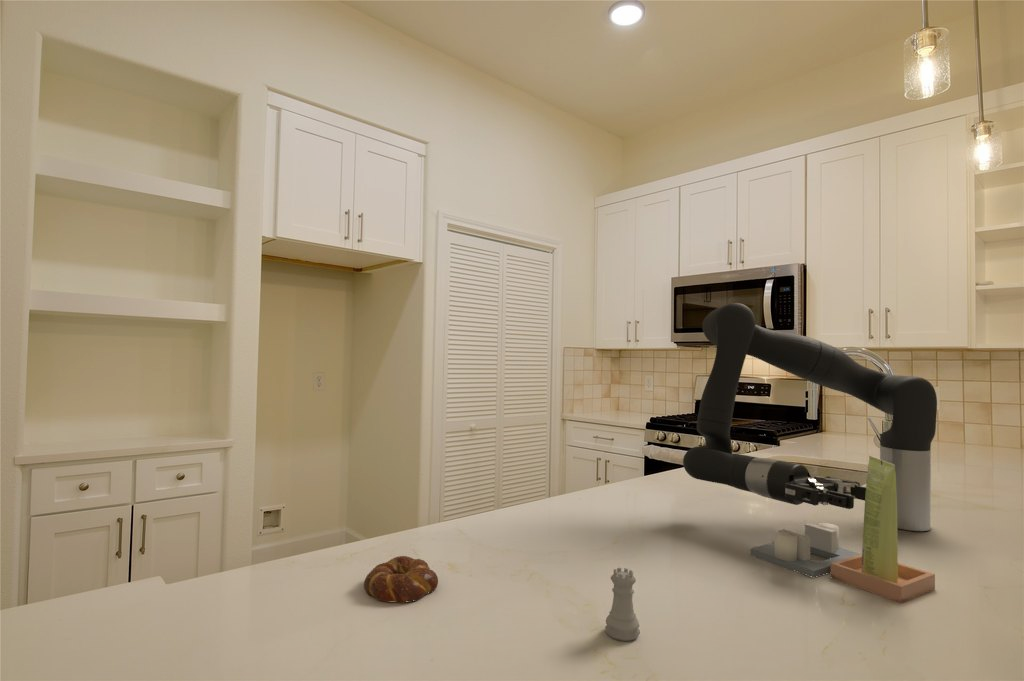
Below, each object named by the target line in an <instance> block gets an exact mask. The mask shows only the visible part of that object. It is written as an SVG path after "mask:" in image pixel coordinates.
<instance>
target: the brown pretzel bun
mask: <svg viewBox="0 0 1024 681" xmlns="http://www.w3.org/2000/svg"><path fill="white" fill-rule="evenodd" d="M438 584H439V577H438V575H437V573H436V572H435V571H434V570H433V569H431V568H430V566H429V564H428V562H426V561H425V559H421V558H416V559H415V558H413V557H410V556H407V555H399V556H395V557H393V558H391V559H390V560H387V561H386V562H382V563H379V564H376V566H374V568H372V570H370V572H369V573H368V574H367V576H365V578H364V581H363V589H364V590H365V592H366V594H367V595H369V594H370V595H373V596H374V598H375V599H376V598H377V599H379V600H378V601H380V600H383V601H382V602H385V601H396V602H395V603H398V602H406V601H413V600H417V599H419V600H421V599H422V598H423V597H425V596H426V595H427V594H426V593H428V592H431V593H433V592H435V590H436V589H437V587H438ZM432 591H433V592H432ZM428 594H429V593H428ZM370 595H369V596H370ZM373 596H372V597H373ZM420 598H421V599H420ZM377 599H376V600H377ZM417 601H418V600H417ZM413 602H414V601H413ZM406 603H407V602H406Z"/></svg>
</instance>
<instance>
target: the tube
mask: <svg viewBox="0 0 1024 681" xmlns="http://www.w3.org/2000/svg"><path fill="white" fill-rule="evenodd" d="M866 473H867V474H866V483H865V487H866V494H865V501H864V509H863V510H864V511H863V512H864V514H863V527H862V528H863V531H862V549H861V550H862V551H861V554H862V572H864V573H867V574H870V575H873V576H876V577H879V578H882V579H885V580H888V581H891V582H894V583H897V581H898V563H899V558H898V557H899V555H898V553H899V552H898V551H899V550H898V528H897V493H896V473H895V465H894V464H891V463H888V462H886V461H883V460H880V458H878V457H874V456H872V455H869V456H868V465H867V472H866Z"/></svg>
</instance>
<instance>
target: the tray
mask: <svg viewBox="0 0 1024 681" xmlns="http://www.w3.org/2000/svg"><path fill="white" fill-rule="evenodd" d="M831 577H832V578H831ZM830 578H831V579H833V578H834V579H833V580H835V579H836V581H838V580H839V582H842V583H844V584H847V585H849V586H852V585H853V587H855V586H856V587H855V588H858V587H859V589H861V590H864V591H867V592H870V593H872V594H875V595H878V596H881V597H883V598H886V599H889V600H892V601H895V602H896V603H897V602H898V603H901V604H903V603H905V602H907V601H910V600H912V599H916V598H917V597H919V596H922V595H924V594H926V593H929V592H932V591H934V590H936V573H932V572H929V571H925V570H922V569H919V568H916V567H913V566H909V565H906V564H903V563H899V562H898V581H897V583H894V582H891V581H888V580H885V579H882V578H879V577H876V576H873V575H870V574H867V573H864V572H862V553H860V554H859V555H856V556H853V557H849V558H846V559H843V560H839V561H836V562H833V563H831V573H830Z"/></svg>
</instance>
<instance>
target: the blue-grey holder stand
mask: <svg viewBox="0 0 1024 681" xmlns="http://www.w3.org/2000/svg"><path fill="white" fill-rule="evenodd" d="M749 551H750V554H749V555H750V556H753V557H755V558H757V559H760V560H764V561H766V562H769V563H772V564H774V565H776V566H777V565H778V566H779V567H782V566H783V568H785V567H786V568H785V569H788V568H789V569H788V570H790V569H792V570H791V571H793V570H795V571H794V572H796V571H798V572H797V573H799V572H800V573H799V574H801V573H804V574H807V575H809V576H808V577H810V576H812V577H816V576H819V575H822V576H824V575H823V574H825V575H827V574H826V573H829V574H831V573H830V572H831V563H833V562H836V561H839V560H843V559H846V558H849V557H853V556H856V555H859V554H861V552H857V551H854V550H849V549H847V548H843V547H841V546H840V528H839V526H838V525H836V524H833V523H826V522H818V523H816V524H813V523H806V524H804V534H801V533H797V532H793V531H791V530H787V529H785V528H783V529H779V530H778V532H776V533H774V542H770V543H766V544H763V545H759V546H758V545H757V546H754V547H750V550H749ZM810 552H812V553H810ZM813 553H815V554H814V555H816V554H817V556H820V555H821V556H820V557H823V556H824V557H823V558H826V557H827V558H826V559H825V560H821V561H815V560H813V559H811V554H813ZM829 558H831V559H829ZM804 574H803V575H804ZM807 575H806V576H807ZM812 577H811V578H812ZM819 577H820V576H819ZM816 578H817V577H816Z"/></svg>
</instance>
